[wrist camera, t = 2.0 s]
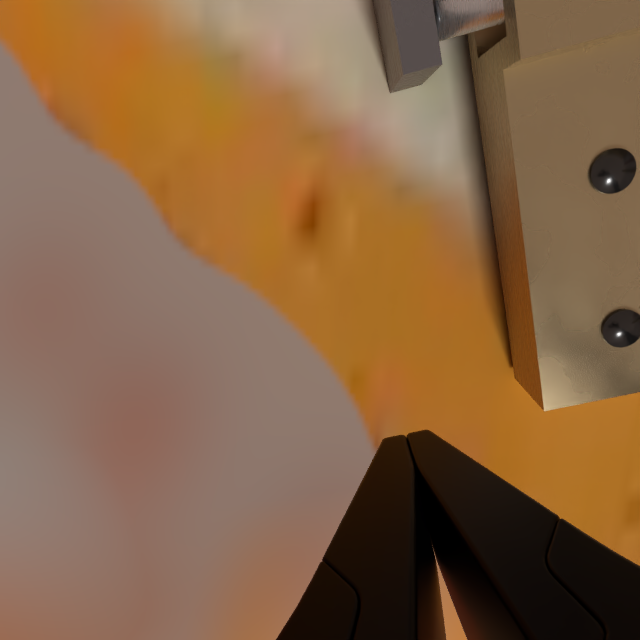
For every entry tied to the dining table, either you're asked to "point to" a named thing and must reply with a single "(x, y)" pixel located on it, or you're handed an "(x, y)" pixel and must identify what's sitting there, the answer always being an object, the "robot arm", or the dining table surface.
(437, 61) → the fixed leaf
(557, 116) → the beige block with rivets
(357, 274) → the dining table surface
